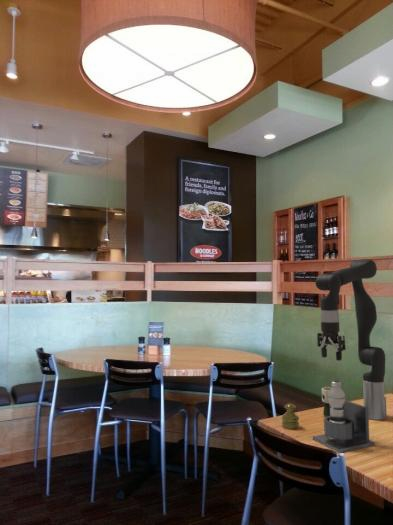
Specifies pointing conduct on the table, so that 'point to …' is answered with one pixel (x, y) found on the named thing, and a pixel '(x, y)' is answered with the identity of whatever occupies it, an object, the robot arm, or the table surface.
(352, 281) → the robot arm
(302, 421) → the table surface
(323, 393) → the character mug
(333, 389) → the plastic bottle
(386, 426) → the table surface
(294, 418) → the brass knob
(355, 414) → the cup bracket
